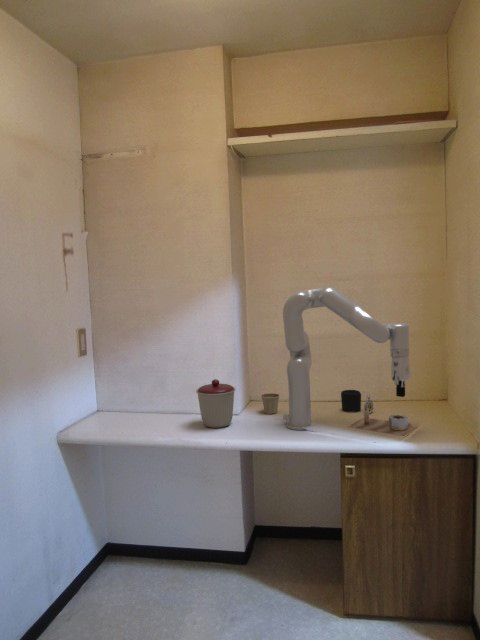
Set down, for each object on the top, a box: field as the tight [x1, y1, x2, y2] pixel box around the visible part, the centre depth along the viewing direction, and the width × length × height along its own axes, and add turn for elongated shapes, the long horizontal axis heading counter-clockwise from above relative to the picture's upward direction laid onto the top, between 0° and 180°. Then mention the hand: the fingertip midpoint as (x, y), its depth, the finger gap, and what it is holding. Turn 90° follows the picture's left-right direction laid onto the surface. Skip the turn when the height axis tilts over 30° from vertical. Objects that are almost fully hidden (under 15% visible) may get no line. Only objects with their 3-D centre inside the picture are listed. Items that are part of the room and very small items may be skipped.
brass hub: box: [390, 427, 407, 431], centre depth 204 cm, size 7×7×3 cm
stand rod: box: [363, 410, 370, 424], centre depth 212 cm, size 2×2×5 cm
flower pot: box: [260, 392, 281, 415], centre depth 241 cm, size 9×9×9 cm
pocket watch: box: [363, 394, 374, 415], centre depth 226 cm, size 8×8×10 cm
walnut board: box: [347, 416, 417, 437], centre depth 208 cm, size 24×16×1 cm, turn 52°
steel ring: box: [388, 414, 409, 429], centre depth 204 cm, size 7×7×4 cm
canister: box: [195, 378, 236, 429], centre depth 224 cm, size 18×18×21 cm
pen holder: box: [340, 389, 362, 413], centre depth 235 cm, size 9×9×10 cm
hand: (400, 396), depth 205 cm, fingers closed
